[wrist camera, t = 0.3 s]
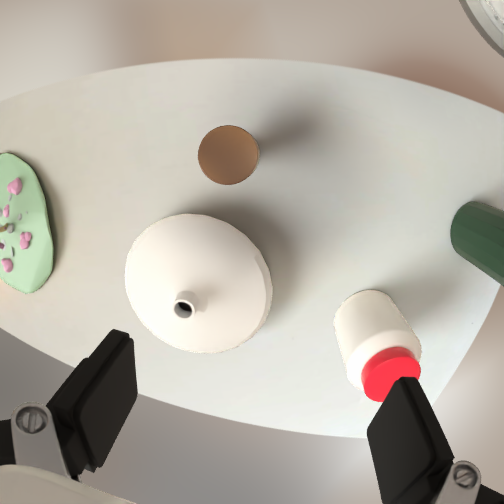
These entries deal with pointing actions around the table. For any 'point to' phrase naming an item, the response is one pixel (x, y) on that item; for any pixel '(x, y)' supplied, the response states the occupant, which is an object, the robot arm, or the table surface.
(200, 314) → the vase
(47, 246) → the plant
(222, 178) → the stopper
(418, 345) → the pill bottle
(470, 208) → the bottle
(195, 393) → the table surface
